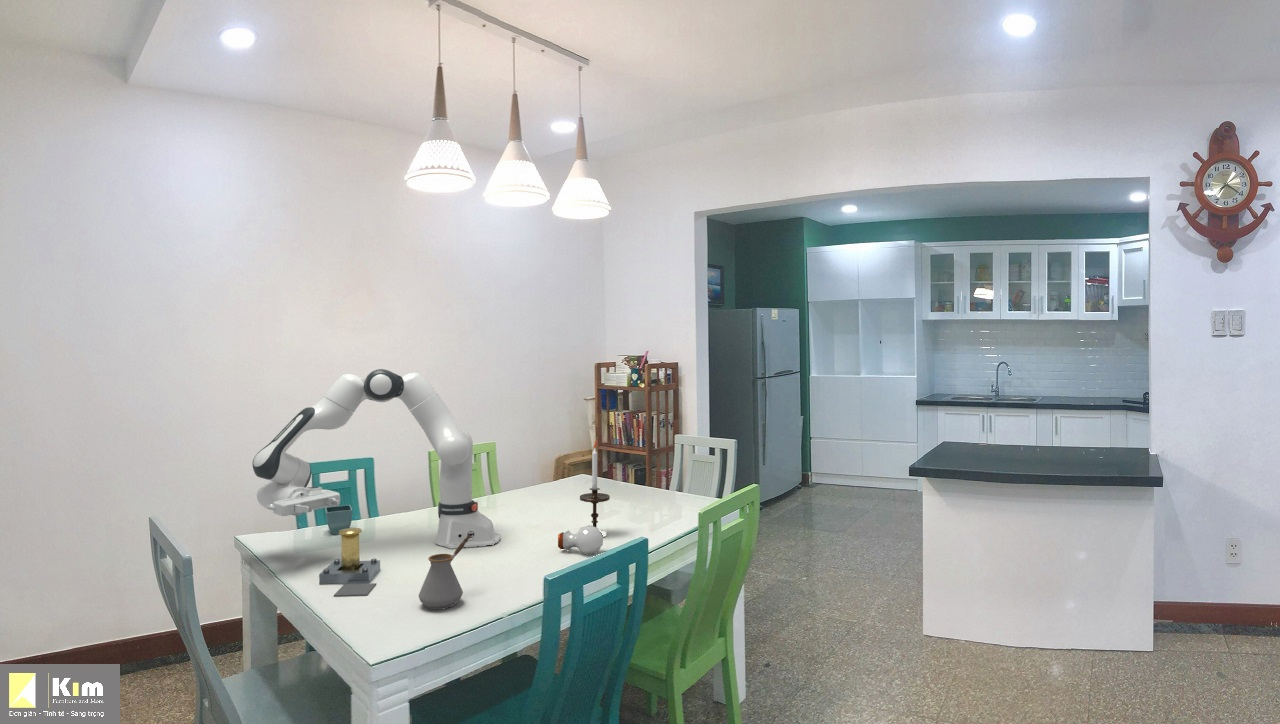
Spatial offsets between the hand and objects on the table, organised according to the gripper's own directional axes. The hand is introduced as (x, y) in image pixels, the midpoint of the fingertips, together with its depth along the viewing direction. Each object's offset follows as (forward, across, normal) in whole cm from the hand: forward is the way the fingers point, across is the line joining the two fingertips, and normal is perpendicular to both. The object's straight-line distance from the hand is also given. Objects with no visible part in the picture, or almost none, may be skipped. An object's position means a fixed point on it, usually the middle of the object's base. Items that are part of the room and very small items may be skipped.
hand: (323, 506), depth 219 cm
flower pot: (-33, +30, +20) cm, 49 cm away
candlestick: (+50, +76, +19) cm, 93 cm away
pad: (+24, -7, +20) cm, 31 cm away
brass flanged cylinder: (+12, 0, +20) cm, 23 cm away
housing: (+12, 0, +20) cm, 23 cm away
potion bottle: (+58, +56, +19) cm, 82 cm away
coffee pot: (+51, +3, +20) cm, 55 cm away
